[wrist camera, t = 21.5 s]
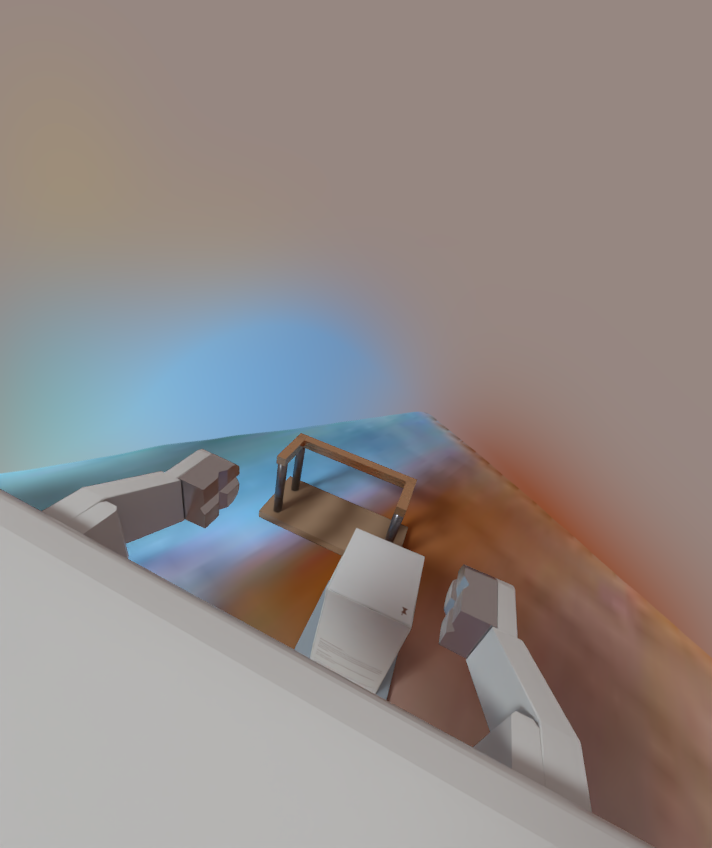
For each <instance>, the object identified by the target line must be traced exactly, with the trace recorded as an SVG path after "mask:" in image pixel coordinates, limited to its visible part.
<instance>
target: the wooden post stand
mask: <svg viewBox="0 0 712 848" xmlns="http://www.w3.org/2000/svg"><path fill="white" fill-rule="evenodd" d="M305 448H307V449H309V450H311V451H314V452H316V453H319V454H321V455H324V456H326V457H329V458H331V459H333V460H336V461H338V462H341V463H343V464H346V465H348V466H350V467H353V468H355V469H358V470H360V471H363V472H365V473H368V474H370V475H372V476H375V477H377V478H380V479H382V480H385V481H387V482H390V483H392V484H394V485H397V486H399V487H402V488H404V489H403V491H402V494H401V496H400V499H399V502H398V504H397V507H396V509H395V512H394V515H393V517H392V520H391V523H390V525H389V528H388V531H387V533H386V536H385V539H384V540H386V541H389V542H391V543H393V542H394V540H395V537H396V535H397V532H398V530H399V527H400V525H401V522H402V520H403V518H404V515H405V513H406V510H407V507H408V504H409V501H410V499H411V496H412V493H413V490H414V487H415V484H416V481H417V480H416V479H414V478H411V477H409V476H406V475H404V474H401V473H399V472H397V471H394V470H392V469H389V468H387V467H384V466H382V465H379V464H377V463H374V462H372V461H369V460H367V459H364V458H362V457H359V456H357V455H354V454H352V453H349V452H347V451H344V450H342V449H339V448H337V447H334V446H332V445H329V444H327V443H324V442H322V441H319V440H317V439H314V438H312V437H309V436H307V435H304V434H302V433H301V434H300V435H299V436H297V437H296V438H295V439H294V440H293V441H292V442H291V443H290V444H289V445H288V446H287V447H286V448H285V449H284V450H283V451H282V452H281V453H280V454H279V455H278V456H277V464H278V470H277V479H276V488H275V498H274V507H273V511H274V512H276V513H279V512H281V511H282V505H283V497H284V489H285V481H286V473H287V465H288V463H289V462H290V461H291V460H292V459H293V458H294V456H295V455H296V457H295V464H294V471H293V478H292V485H291V490H292V491H298V490H299V485H300V479H301V472H302V466H303V460H304V453H305Z"/></svg>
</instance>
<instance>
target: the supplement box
mask: <svg viewBox="0 0 712 848" xmlns="http://www.w3.org/2000/svg"><path fill="white" fill-rule="evenodd" d="M424 559H425V557H424V556H422V555H420V554H417V553H415V552H412V551H410V550H408V549H405V548H403V547H401V546H398V545H396V544H394V543H391V542H389V541H386V540H384V539H382V538H379V537H377V536H375V535H372V534H370V533H368V532H365V531H363V530H361V529H358V528H356V530H355V532H354V534H353V536H352V538H351V540H350V542H349V544H348V546H347V548H346V550H345V552H344V554H343V556H342V557H341V559H340V561H339V563H338V565H337V567H336V569H335V571H334V573H333V575H332V577H331V579H330V581H329V583H328V585H327V587H326V593H325V598H324V603H323V606H322V610H321V615H320V618H319V622H318V626H317V630H316V634H315V638H314V642H313V646H312V651H311V655H310V659H312V660H314V661H316V662H317V663H319V664H321V665H323V666H325V667H327V668H328V669H330V670H332V671H334V672H336V673H337V674H339V675H341V676H343V677H345V678H347V679H348V680H350V681H352V682H354V683H356V684H358V685H359V686H361V687H363V688H365V689H367V690H369V691H370V692H372V693H374V694H376V692H377V690H378V689H379V687H380V685H381V683H382V681H383V679H384V678H385V676H386V674H387V672H388V670H389V668H390V667H391V665H392V663H393V661H394V659H395V657H396V656H397V654H398V652H399V650H400V648H401V646H402V645H403V643H404V641H405V639H406V637H407V635H408V634H409V632H410V630H411V628H412V623H413V618H414V612H415V607H416V601H417V595H418V590H419V584H420V579H421V574H422V569H423V564H424Z"/></svg>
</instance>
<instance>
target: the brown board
mask: <svg viewBox="0 0 712 848" xmlns="http://www.w3.org/2000/svg"><path fill="white" fill-rule="evenodd" d="M292 478H293V477H291V476H290V477H289V478H288V479H287V480H286V481H285V489H284V497H283V505H282V511H281V512H279V513H276V512H274V511H273V507H274V498H275V494H274V495H273V496H272V497H271V498H270V499H269V500H268V502H267V503H266V504H265V505H264V506H263V507H262V508H261V509H260V511H259V517H261V518H263V519H265V520H267V521H269V522H272V523H274V524H276V525H278V526H280V527H282V528H284V529H286V530H289V531H291V532H293V533H295V534H297V535H299V536H301V537H303V538H306V539H308V540H310V541H312V542H314V543H316V544H318V545H320V546H323V547H325V548H327V549H329V550H331V551H333V552H335V553H338V554H340V555H342V556H343V554H344V552H345V550H346V548H347V546H348V544H349V542H350V540H351V538H352V536H353V534H354V532H355V530H356V528H358V529H361V530H363V531H365V532H368V533H370V534H372V535H375V536H377V537H379V538H382V539H385V536H386V533H387V531H388V528H389V525H390V523H391V520H390V519H388V518H385V517H383V516H381V515H379V514H376V513H374V512H372V511H369V510H367V509H365V508H362V507H360V506H358V505H355V504H353V503H351V502H349V501H346V500H344V499H342V498H339V497H337V496H335V495H332V494H330V493H328V492H325V491H323V490H321V489H319V488H316V487H314V486H312V485H309V484H307V483H305V482H302V481H300V485H299V490H298V491H292V490H291V485H292ZM407 529H408V527H406V526H404V525H402V524H401V525H400V527H399V530H398V532H397V535H396V537H395V540H394V542H393V543H394V544H396V545H398V546H401V547H402V545H403V542H404V539H405V536H406V533H407Z"/></svg>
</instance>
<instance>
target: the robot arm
mask: <svg viewBox="0 0 712 848" xmlns="http://www.w3.org/2000/svg"><path fill="white" fill-rule="evenodd" d="M238 475H239V466H238V465H236V464H234V463H232V462H230V461H228V460H226V459H223V458H221V457H219V456H217V455H215V454H212V453H210V452H208V451H206V450H204V449H200V450H197V451H196V452H194V453H193V454H191V455H190V456H188V457H187V458H185V459H184V460H182V461H181V462H179V463H178V464H177V465H175V466H174V467H172V468H171V469H169V470H168V471H166V472H165V473H164V472H162V471H159V472H154V473H149V474H145V475H140V476H135V477H130V478H125V479H121V480H116V481H111V482H106V483H101V484H97V485H92V486H87V487H82V488H81V489H79V490H77V491H76V492H74V493H72V494H70V495H69V496H67V497H65V498H64V499H62V500H60V501H58V502H57V503H55V504H53V505H52V506H50V507H48V508H46V509H45V510H43V511H40V510H38V509H36V508H34V507H32V506H30V505H29V504H27V503H25V502H23V501H21V500H20V499H18V498H16V497H14V496H12V495H10V494H9V493H7V492H5V491H3V490H1V489H0V848H656V847H654V846H652V845H650V844H648V843H647V842H645V841H643V840H641V839H639V838H637V837H636V836H634V835H632V834H630V833H628V832H626V831H625V830H623V829H621V828H619V827H617V826H615V825H614V824H612V823H610V822H608V821H606V820H604V819H603V818H601V817H599V816H597V815H595V814H593V813H592V809H591V803H590V797H589V791H588V785H587V779H586V772H585V766H584V760H583V754H582V748H581V742H580V741H579V739H578V737H577V735H576V734H575V732H574V730H573V728H572V726H571V725H570V723H569V721H568V719H567V718H566V716H565V714H564V712H563V711H562V709H561V707H560V705H559V704H558V702H557V700H556V698H555V697H554V695H553V693H552V691H551V690H550V688H549V686H548V684H547V682H546V681H545V679H544V677H543V675H542V674H541V672H540V670H539V668H538V667H537V665H536V663H535V661H534V660H533V658H532V656H531V654H530V653H529V651H528V649H527V647H526V645H525V644H524V642H523V641H522V640H520V639H518V635H517V616H516V597H515V588H514V586H513V585H510V584H508V583H506V582H503V581H501V580H499V579H496V578H494V577H492V576H490V575H487V574H485V573H483V572H480V571H478V570H476V569H473V568H471V567H469V566H466V565H463V566H462V567H461V568H460V570H459V571H458V579H455V580H453V582H452V584H451V585H450V587H449V590H448V593H447V596H446V600H445V605H444V611H445V614H446V617H445V618H444V620H443V622H442V624H441V631H440V638H439V645H441V646H443V647H445V648H447V649H449V650H451V651H453V652H454V653H456V654H458V655H460V656H462V657H464V658H466V662H467V665H468V668H469V671H470V674H471V677H472V680H473V683H474V686H475V689H476V692H477V694H478V697H479V700H480V703H481V706H482V709H483V712H484V715H485V718H486V721H487V724H488V727H489V730H490V733H489V734H488V735H487V736H486V737H484V738H483V739H482V740H481V741H480V742H479V743H477V744H476V745H475V746H474V747H471V746H469V745H467V744H465V743H464V742H462V741H460V740H458V739H456V738H454V737H453V736H451V735H449V734H447V733H445V732H443V731H442V730H440V729H438V728H436V727H434V726H433V725H431V724H429V723H427V722H425V721H423V720H422V719H420V718H418V717H416V716H414V715H412V714H411V713H409V712H407V711H405V710H403V709H401V708H400V707H398V706H396V705H394V704H392V703H390V702H389V701H387V700H385V699H383V698H381V697H379V696H378V695H376V694H374V693H372V692H370V691H369V690H367V689H365V688H363V687H361V686H359V685H358V684H356V683H354V682H352V681H350V680H348V679H347V678H345V677H343V676H341V675H339V674H337V673H336V672H334V671H332V670H330V669H328V668H327V667H325V666H323V665H321V664H319V663H317V662H316V661H314V660H312V659H310V658H308V657H306V656H305V655H303V654H301V653H299V652H297V651H296V650H294V649H292V648H290V647H288V646H286V645H285V644H283V643H281V642H279V641H277V640H275V639H274V638H272V637H270V636H268V635H266V634H264V633H263V632H261V631H259V630H257V629H255V628H253V627H252V626H250V625H248V624H246V623H244V622H242V621H241V620H239V619H237V618H235V617H233V616H232V615H230V614H228V613H226V612H224V611H222V610H221V609H219V608H217V607H215V606H213V605H211V604H210V603H208V602H206V601H204V600H202V599H200V598H199V597H197V596H195V595H193V594H191V593H189V592H188V591H186V590H184V589H182V588H180V587H178V586H177V585H175V584H173V583H171V582H169V581H167V580H166V579H164V578H162V577H160V576H158V575H157V574H155V573H153V572H151V571H149V570H147V569H146V568H144V567H142V566H140V565H138V564H136V563H135V562H133V561H131V560H129V559H128V556H129V555H128V551H127V547H126V543H129V542H131V541H134V540H136V539H139V538H141V537H144V536H146V535H149V534H151V533H154V532H156V531H159V530H161V529H164V528H166V527H169V526H171V525H174V524H176V523H179V522H181V521H184V519H186V520H188V521H190V522H192V523H194V524H197V525H199V526H201V527H203V528H206V527H207V526H208V525H209V524H210V523H211V522H212V521H214V520H215V519H216V518H217V517H218V516H219V510H220V509H223V508H226V507H228V506H229V505H230V504H231V503H232V502H233V500H234V499H235V497H236V495H237V493H238V490H239V482H238V480H237V478H236V476H238Z"/></svg>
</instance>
